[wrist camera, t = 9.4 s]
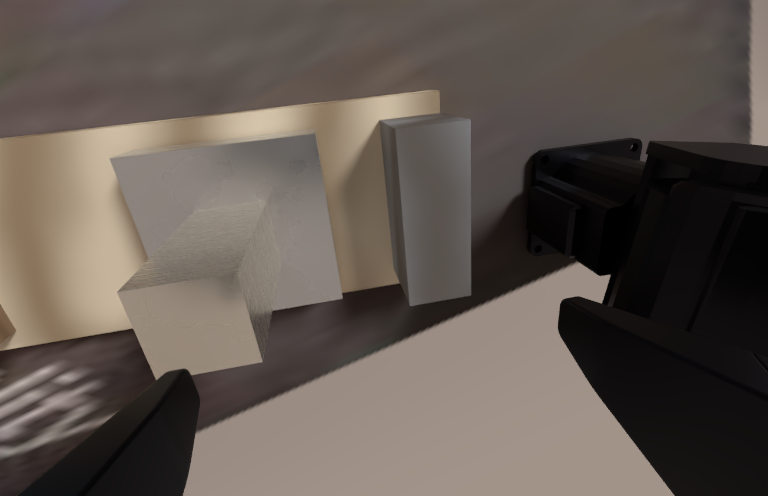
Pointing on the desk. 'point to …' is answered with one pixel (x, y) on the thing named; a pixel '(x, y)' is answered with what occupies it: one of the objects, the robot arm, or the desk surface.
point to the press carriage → (225, 245)
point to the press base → (330, 119)
